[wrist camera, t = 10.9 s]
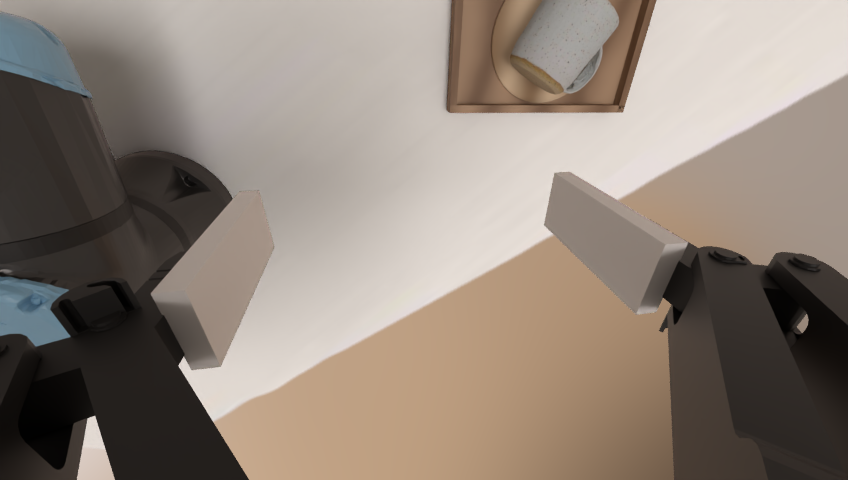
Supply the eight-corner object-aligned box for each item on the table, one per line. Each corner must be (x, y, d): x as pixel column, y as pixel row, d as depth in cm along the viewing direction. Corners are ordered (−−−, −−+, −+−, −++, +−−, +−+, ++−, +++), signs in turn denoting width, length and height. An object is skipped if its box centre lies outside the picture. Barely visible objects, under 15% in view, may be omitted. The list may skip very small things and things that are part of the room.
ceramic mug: (495, 59, 37) (522, 62, 31) (542, -19, 34) (582, -34, 27) (561, 108, 41) (597, 120, 34) (609, 42, 38) (658, 42, 31)
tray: (446, 110, 40) (449, 112, 39) (457, -120, 31) (462, -130, 29) (612, 109, 43) (622, 112, 41) (673, -103, 33) (689, -111, 31)
